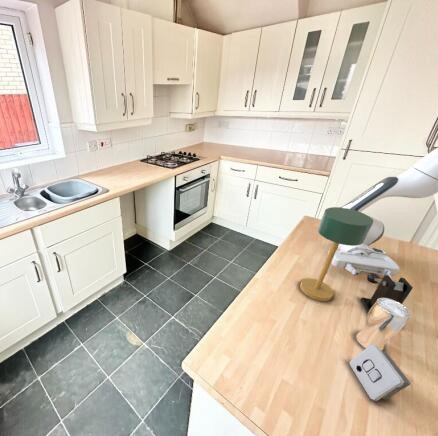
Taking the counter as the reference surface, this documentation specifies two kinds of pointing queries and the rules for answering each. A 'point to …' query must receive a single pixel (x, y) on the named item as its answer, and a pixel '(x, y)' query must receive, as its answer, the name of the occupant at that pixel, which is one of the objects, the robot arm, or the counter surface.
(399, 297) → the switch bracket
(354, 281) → the counter surface
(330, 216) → the desk lamp
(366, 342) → the beer glass
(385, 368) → the electrical switch
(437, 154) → the robot arm
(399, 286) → the switch lever
